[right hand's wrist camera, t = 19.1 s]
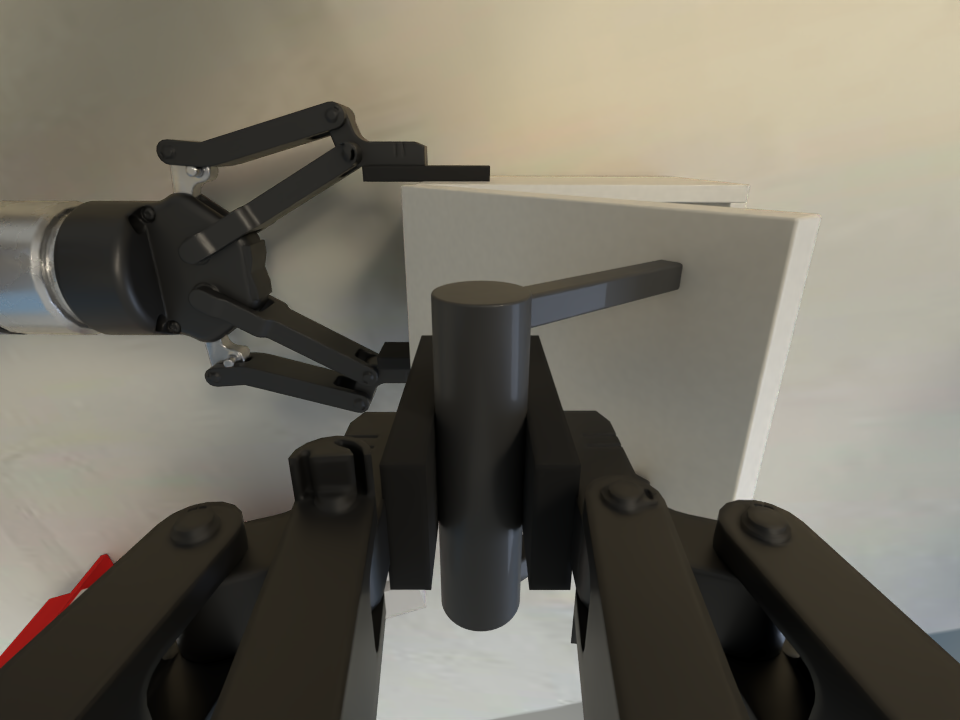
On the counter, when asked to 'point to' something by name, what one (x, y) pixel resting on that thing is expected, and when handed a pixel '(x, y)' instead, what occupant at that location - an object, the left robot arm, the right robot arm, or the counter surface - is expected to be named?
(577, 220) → the lid
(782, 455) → the counter surface
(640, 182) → the white open box
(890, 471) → the counter surface
